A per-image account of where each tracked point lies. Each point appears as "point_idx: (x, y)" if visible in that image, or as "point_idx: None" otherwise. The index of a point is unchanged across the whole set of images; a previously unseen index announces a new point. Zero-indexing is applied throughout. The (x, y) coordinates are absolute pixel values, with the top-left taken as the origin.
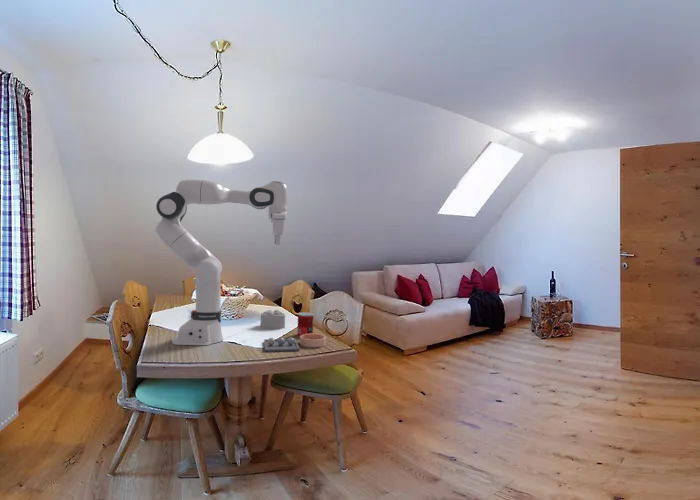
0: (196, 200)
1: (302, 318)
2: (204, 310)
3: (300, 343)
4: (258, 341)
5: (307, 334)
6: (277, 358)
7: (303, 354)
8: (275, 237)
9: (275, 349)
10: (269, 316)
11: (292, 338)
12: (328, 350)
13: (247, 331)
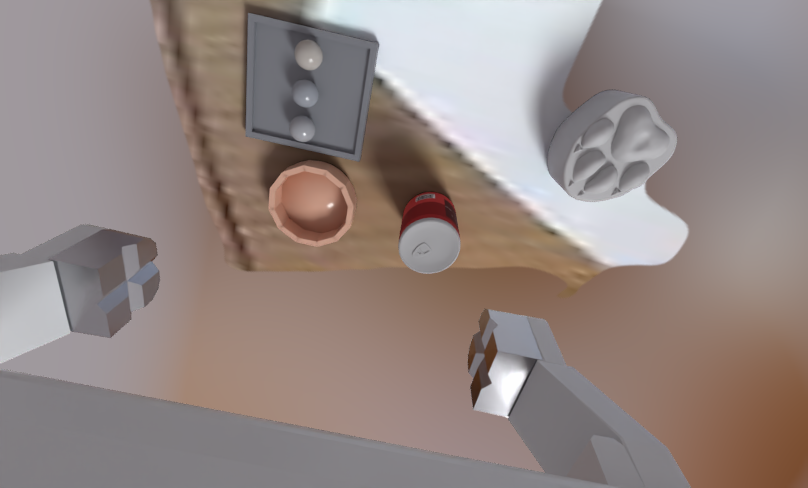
0: None
1: (408, 222)
2: None
3: (309, 160)
4: (393, 23)
5: (346, 202)
6: (176, 38)
7: (212, 134)
8: (587, 436)
9: (248, 53)
10: (585, 126)
11: (292, 133)
12: (243, 216)
13: (564, 11)
